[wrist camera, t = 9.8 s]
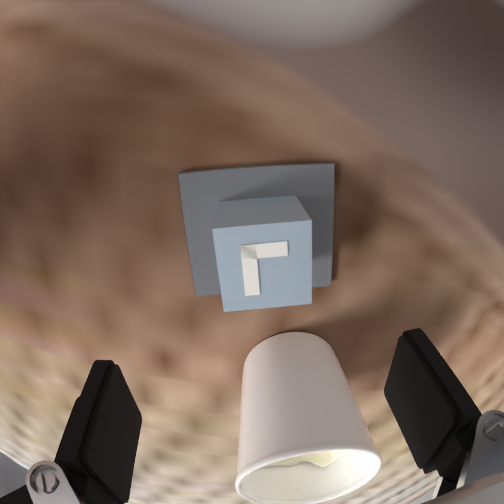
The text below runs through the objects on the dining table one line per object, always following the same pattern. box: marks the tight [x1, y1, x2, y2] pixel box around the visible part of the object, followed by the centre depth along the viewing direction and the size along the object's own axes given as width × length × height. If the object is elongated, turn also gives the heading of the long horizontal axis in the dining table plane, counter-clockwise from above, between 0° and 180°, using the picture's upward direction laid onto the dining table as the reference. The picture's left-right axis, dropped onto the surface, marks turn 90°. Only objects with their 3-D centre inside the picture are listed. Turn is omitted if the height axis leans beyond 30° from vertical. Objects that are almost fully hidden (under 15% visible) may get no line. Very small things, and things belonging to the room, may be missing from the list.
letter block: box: [212, 195, 312, 312], centre depth 19 cm, size 5×5×5 cm
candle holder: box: [235, 332, 382, 504], centre depth 22 cm, size 10×10×12 cm
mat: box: [178, 163, 334, 296], centre depth 22 cm, size 10×9×1 cm
